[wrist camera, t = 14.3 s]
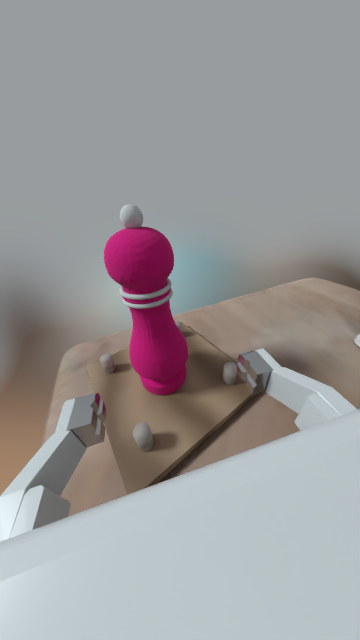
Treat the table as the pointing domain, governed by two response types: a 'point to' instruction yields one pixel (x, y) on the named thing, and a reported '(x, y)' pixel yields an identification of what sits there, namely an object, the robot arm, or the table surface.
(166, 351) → the pepper mill
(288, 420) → the table surface
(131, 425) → the pin base
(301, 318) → the table surface
